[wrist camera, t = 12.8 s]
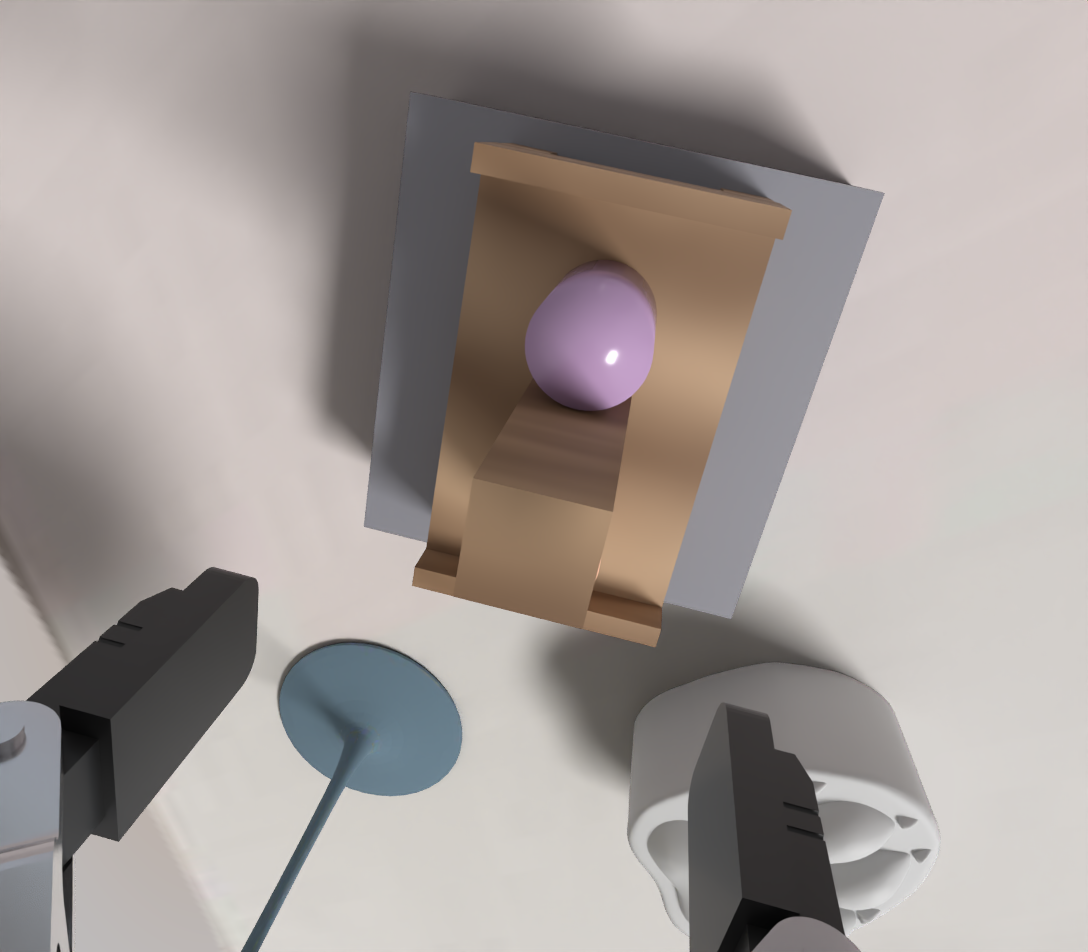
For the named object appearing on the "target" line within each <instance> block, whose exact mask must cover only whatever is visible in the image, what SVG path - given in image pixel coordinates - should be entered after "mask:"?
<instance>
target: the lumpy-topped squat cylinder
mask: <svg viewBox="0 0 1088 952" xmlns="http://www.w3.org/2000/svg"><path fill="white" fill-rule="evenodd" d="M722 702H725V703H728V704H732V705H736V706H740V707H744V708H747V709H751V710H755V711H759V712H763V713H766V714H768V716H769V718H770V723H771V729H772V735H773V742H774V748H775V749H777V750H781V751H784V752H788V753H792V754H795V755H796V757H797V758H798V760H799V761H800V763H801V764H802V766H803V768H804V769H805V771H806V772H807V774H808V775H809V777H810V778H811V780H812V782H813V784H814V789H815V794H816V799H817V803H818V808H819V814H818V816H819V817H820V818H821V823H822V827H823V832H824V837H823V841H825V842H826V846H827V851H828V856H829V861H830V866H831V870H832V875H833V880H834V885H835V890H836V894H837V899H838V904H839V909H840V914H841V918H842V923H843V928H844V932H845V935H846V937H848V936H849V935H850V934H851V933H852V931H853V930H855V929H858V928H861V927H863V926H865V925H867V924H869V923H870V922H872V921H874V920H875V919H877V918H879V917H880V916H882V915H884V914H885V913H887V912H888V911H890V910H891V909H893V908H894V907H896V906H897V905H899V904H900V903H901V902H903V901H904V900H905V899H907V898H908V897H910V896H911V895H912V894H913V893H914V892H915V891H916V890H917V889H918V888H919V886H920V885H921V884H922V883H923V882H924V880H925V879H926V877H927V876H928V874H929V873H930V871H931V869H932V867H933V865H934V863H935V861H936V859H937V857H938V854H939V850H940V843H941V841H940V840H941V838H940V831H939V827H938V824H937V821H936V818H935V816H934V814H933V811H932V809H931V806H930V803H929V801H928V798H927V795H926V793H925V790H924V788H923V785H922V782H921V780H920V777H919V775H918V772H917V769H916V766H915V764H914V761H913V758H912V756H911V753H910V751H909V748H908V745H907V743H906V740H905V738H904V735H903V733H902V730H901V727H900V725H899V722H898V720H897V717H896V715H895V712H894V710H893V708H892V707H891V705H890V704H889V703H888V701H887V700H886V699H885V698H884V697H883V696H881V695H880V694H879V693H878V692H876V691H875V690H873V689H872V688H870V687H869V686H867V685H865V684H863V683H861V682H859V681H857V680H855V679H853V678H851V677H849V676H847V675H844V674H841V673H838V672H835V671H831V670H826V669H821V668H816V667H810V666H804V665H797V664H789V663H780V662H769V663H761V664H755V665H750V666H745V667H740V668H736V669H732V670H728V671H724V672H720V673H717V674H713V675H710V676H706V677H703V678H700V679H697V680H694V681H692V682H689V683H687V684H684V685H681V686H678V687H676V688H673V689H670V690H668V691H666V692H664V693H662V694H660V695H658V696H656V697H655V698H653V699H652V700H651V701H649V702H648V703H647V704H646V705H645V706H644V707H643V708H642V710H641V711H640V713H639V714H638V716H637V718H636V721H635V724H634V734H633V748H632V763H631V777H630V792H629V816H628V826H627V836H628V841H629V845H630V847H631V849H632V851H633V853H634V855H635V856H636V858H637V859H638V861H639V862H640V863H641V864H642V865H643V867H644V868H645V869H646V870H647V871H648V872H649V874H650V875H651V876H652V878H653V879H654V881H655V883H656V884H657V886H658V888H659V891H660V893H661V897H662V900H663V903H664V907H665V910H666V912H667V914H668V916H669V918H670V920H671V921H672V923H673V924H674V925H675V927H677V928H678V929H679V930H680V931H681V932H682V933H684V934H685V935H687V936H689V865H688V797H689V790H690V785H691V780H692V776H693V772H694V769H695V766H696V764H697V761H698V758H699V756H700V753H701V750H702V748H703V745H704V742H705V740H706V737H707V735H708V732H709V729H710V727H711V724H712V721H713V719H714V716H715V713H716V711H717V709H718V707H719V705H720V704H721V703H722ZM689 937H690V936H689Z"/></svg>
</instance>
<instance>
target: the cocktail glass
mask: <svg viewBox="0 0 1088 952" xmlns="http://www.w3.org/2000/svg"><path fill="white" fill-rule="evenodd" d="M279 703H280V715H281V719H282V723H283V726H284V728H285V731H286V733H287V735H288V737H289V739H290V740H291V742H292V744H293V746H294V747H295V748H296V749H297V751H298V752H299V753H300V754H301V756H302V757H303V758H304V759H305V760H306V761H307V762H308V763H309V764H310V765H311V766H313V767H314V768H315V769H316V770H318V771H319V772H320V773H322V774H323V775H325V776H326V777H328V778H330V779H331V781H330V783H329V785H328V787H327V789H326V792H325V794H324V795H323V797H322V799H321V801H320V803H319V805H318V807H317V809H316V811H315V813H314V815H313V817H312V819H311V821H310V823H309V825H308V827H307V829H306V831H305V833H304V834H303V836H302V838H301V840H300V842H299V844H298V846H297V848H296V850H295V852H294V854H293V855H292V857H291V859H290V861H289V863H288V865H287V867H286V869H285V871H284V873H283V875H282V876H281V878H280V880H279V882H278V884H277V886H276V888H275V890H274V891H273V893H272V895H271V897H270V899H269V901H268V903H267V905H266V906H265V908H264V910H263V912H262V914H261V916H260V918H259V920H258V921H257V923H256V925H255V927H254V929H253V931H252V933H251V934H250V936H249V938H248V940H247V942H246V944H245V945H244V947H243V949H242V951H241V952H258V951H259V949H260V947H261V945H262V943H263V941H264V939H265V937H266V935H267V933H268V931H269V929H270V927H271V925H272V924H273V922H274V920H275V918H276V916H277V914H278V912H279V910H280V908H281V906H282V904H283V902H284V900H285V898H286V896H287V894H288V893H289V891H290V889H291V887H292V885H293V883H294V881H295V879H296V877H297V875H298V873H299V871H300V869H301V867H302V865H303V864H304V862H305V860H306V858H307V856H308V854H309V852H310V850H311V849H312V847H313V845H314V843H315V841H316V839H317V837H318V835H319V834H320V832H321V830H322V828H323V826H324V824H325V822H326V820H327V819H328V817H329V815H330V813H331V811H332V809H333V807H334V805H335V804H336V802H337V800H338V798H339V796H340V795H341V793H342V791H343V789H344V788H345V786H346V787H348V788H350V789H353V790H357V791H360V792H363V793H368V794H374V795H382V796H399V795H407V794H412V793H417V792H419V791H422V790H424V789H427V788H429V787H431V786H433V785H434V784H436V783H437V782H439V781H440V780H441V779H442V778H443V777H445V776H446V775H447V774H448V773H449V771H450V770H451V769H452V767H453V766H454V764H455V763H456V760H457V758H458V756H459V753H460V748H461V743H462V726H461V721H460V716H459V714H458V711H457V709H456V706H455V704H454V702H453V700H452V699H451V697H450V695H449V694H448V692H447V691H446V689H445V688H444V687H443V686H442V685H441V683H440V682H439V681H438V680H437V679H436V678H435V677H434V676H433V675H432V674H431V673H429V672H428V671H427V670H426V669H425V668H423V667H422V666H420V665H419V664H418V663H416V662H415V661H413V660H411V659H410V658H408V657H406V656H404V655H402V654H400V653H398V652H395V651H392V650H389V649H387V648H384V647H380V646H375V645H371V644H363V643H338V644H334V645H329V646H325V647H322V648H320V649H317V650H314V651H312V652H311V653H309V654H308V655H306V656H304V657H303V658H302V659H301V660H300V661H298V662H297V663H296V664H295V665H294V666H293V667H292V669H291V670H290V672H289V673H288V675H287V676H286V678H285V680H284V683H283V685H282V688H281V693H280V699H279Z"/></svg>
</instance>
